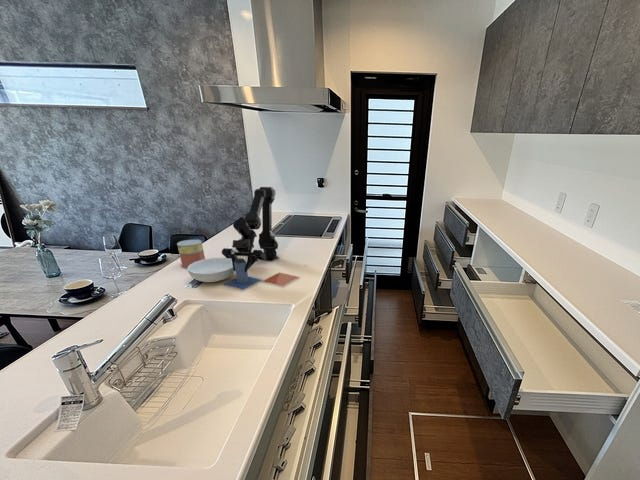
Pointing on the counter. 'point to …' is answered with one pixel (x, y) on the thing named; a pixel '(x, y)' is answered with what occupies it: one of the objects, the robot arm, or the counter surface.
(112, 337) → the counter surface
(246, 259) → the white cup
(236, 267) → the blue mill
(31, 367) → the counter surface
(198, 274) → the serving bowl
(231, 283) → the blue mat
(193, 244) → the canned food
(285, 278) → the terracotta trivet
